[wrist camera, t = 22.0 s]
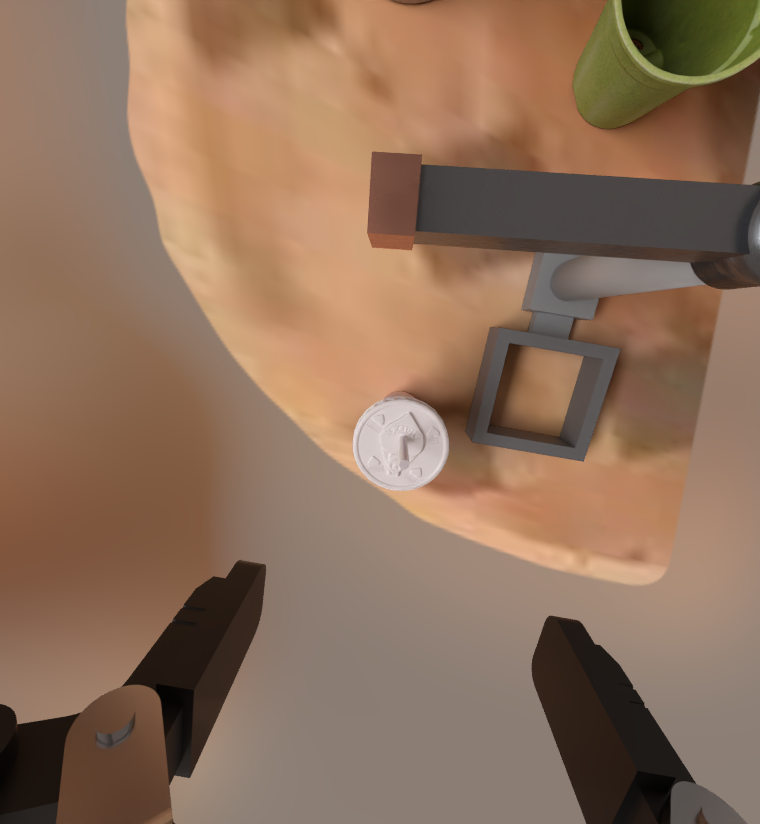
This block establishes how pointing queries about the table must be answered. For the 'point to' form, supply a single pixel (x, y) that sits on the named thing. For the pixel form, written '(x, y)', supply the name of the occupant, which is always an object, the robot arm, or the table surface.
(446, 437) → the smoothie
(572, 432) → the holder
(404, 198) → the joystick lever
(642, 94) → the plant pot
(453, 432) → the table surface
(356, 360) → the table surface
